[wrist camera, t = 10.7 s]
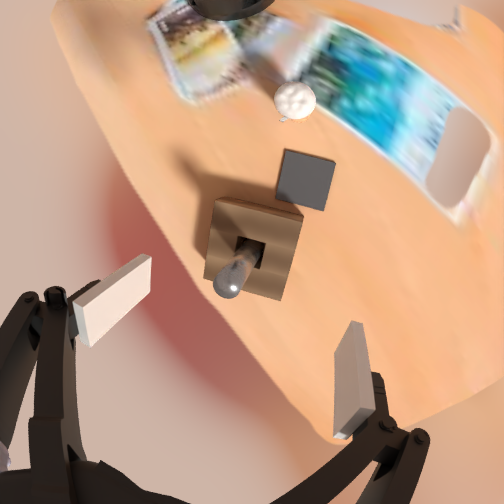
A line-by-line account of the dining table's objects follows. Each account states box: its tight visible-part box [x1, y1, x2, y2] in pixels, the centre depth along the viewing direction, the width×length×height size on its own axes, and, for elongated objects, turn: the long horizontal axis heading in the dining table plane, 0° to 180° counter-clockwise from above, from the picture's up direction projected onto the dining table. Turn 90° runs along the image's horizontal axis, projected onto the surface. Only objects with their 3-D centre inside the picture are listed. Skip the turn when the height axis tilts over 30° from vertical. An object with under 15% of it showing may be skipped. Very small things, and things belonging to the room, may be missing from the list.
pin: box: [213, 238, 265, 299], centre depth 35 cm, size 3×3×14 cm
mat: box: [275, 151, 336, 211], centre depth 36 cm, size 7×7×1 cm
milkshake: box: [274, 82, 316, 123], centre depth 29 cm, size 4×5×10 cm
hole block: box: [203, 196, 304, 301], centre depth 40 cm, size 12×12×4 cm
